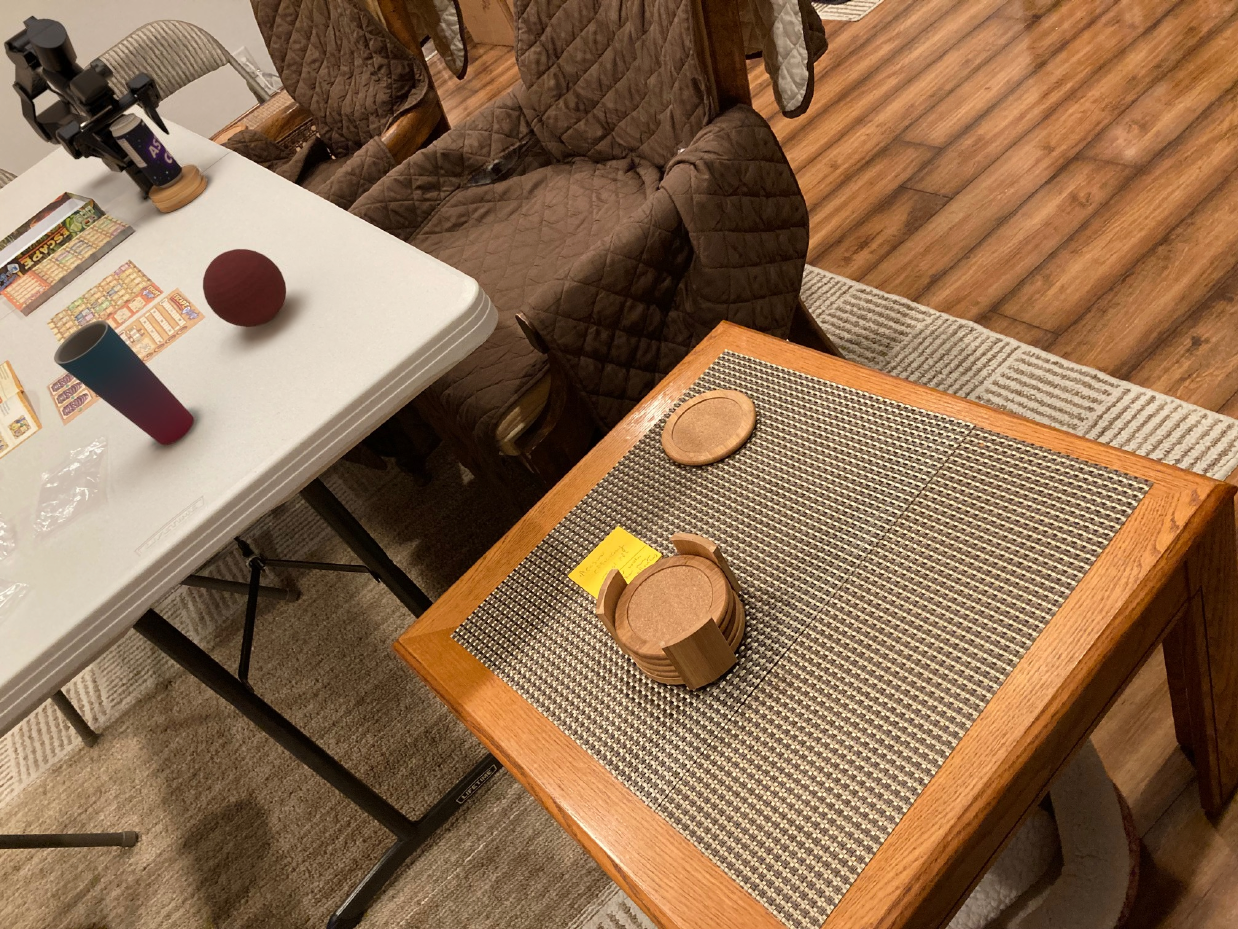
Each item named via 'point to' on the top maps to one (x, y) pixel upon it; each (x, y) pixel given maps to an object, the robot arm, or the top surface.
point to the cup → (123, 381)
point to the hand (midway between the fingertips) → (147, 148)
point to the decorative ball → (244, 287)
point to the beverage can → (146, 150)
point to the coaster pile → (179, 190)
